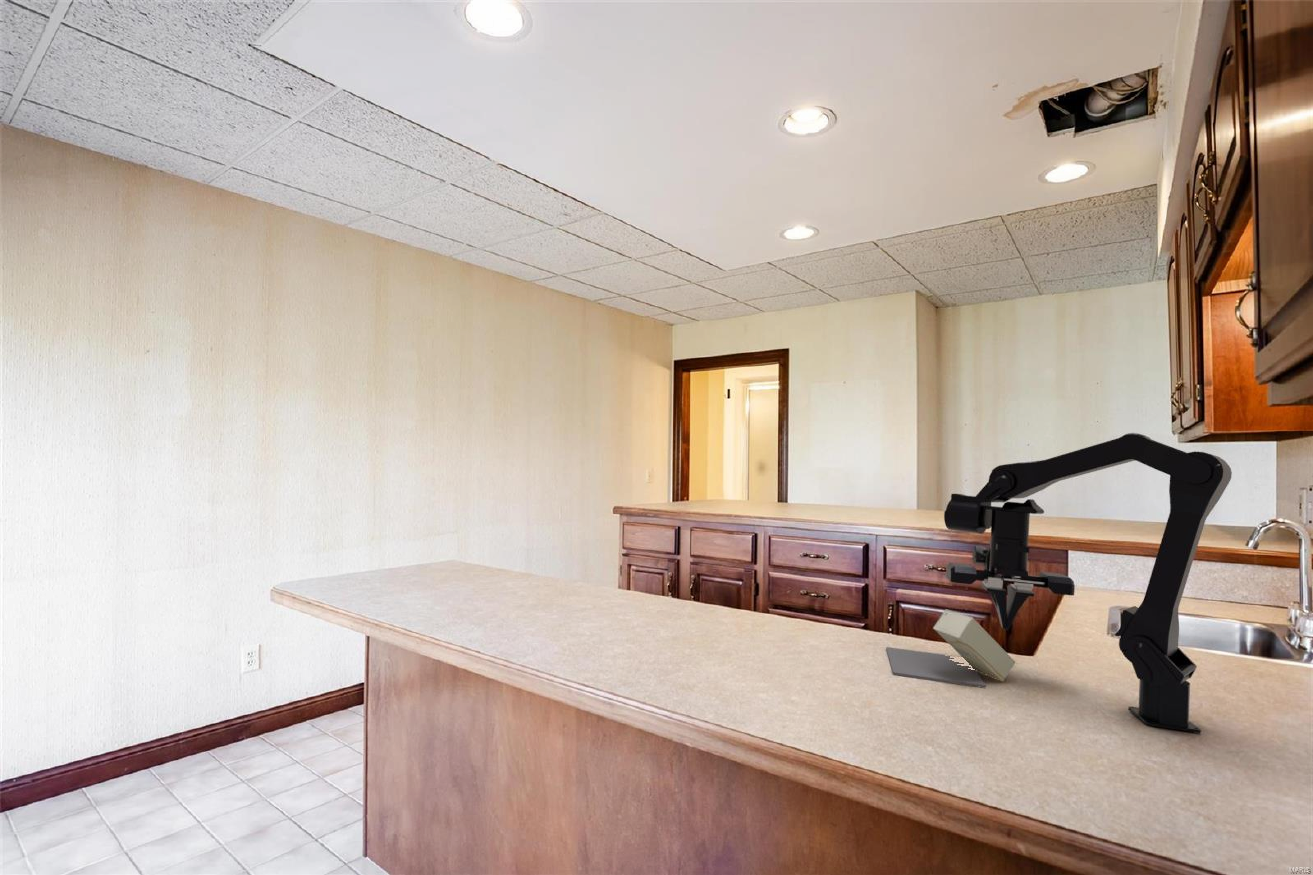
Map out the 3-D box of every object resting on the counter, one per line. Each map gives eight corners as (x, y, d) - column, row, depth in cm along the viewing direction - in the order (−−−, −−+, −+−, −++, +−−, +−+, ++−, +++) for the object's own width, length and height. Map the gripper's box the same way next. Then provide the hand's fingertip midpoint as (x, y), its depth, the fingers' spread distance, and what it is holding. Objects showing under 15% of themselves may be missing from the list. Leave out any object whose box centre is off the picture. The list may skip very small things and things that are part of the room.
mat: (985, 688, 102) (985, 685, 102) (893, 674, 106) (893, 672, 106) (966, 659, 117) (966, 657, 117) (886, 649, 121) (886, 646, 121)
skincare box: (975, 671, 111) (930, 628, 108) (988, 650, 112) (944, 607, 109) (1004, 683, 105) (958, 638, 102) (1018, 661, 106) (972, 616, 103)
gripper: (1055, 538, 114) (1051, 625, 114) (943, 528, 119) (939, 611, 119) (1077, 545, 104) (1073, 641, 103) (953, 534, 109) (948, 625, 108)
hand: (1004, 628), depth 109 cm, fingers closed
